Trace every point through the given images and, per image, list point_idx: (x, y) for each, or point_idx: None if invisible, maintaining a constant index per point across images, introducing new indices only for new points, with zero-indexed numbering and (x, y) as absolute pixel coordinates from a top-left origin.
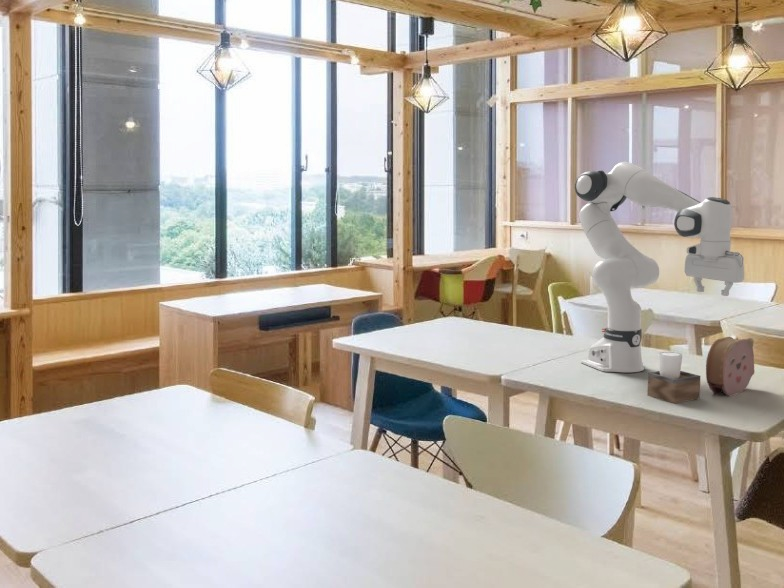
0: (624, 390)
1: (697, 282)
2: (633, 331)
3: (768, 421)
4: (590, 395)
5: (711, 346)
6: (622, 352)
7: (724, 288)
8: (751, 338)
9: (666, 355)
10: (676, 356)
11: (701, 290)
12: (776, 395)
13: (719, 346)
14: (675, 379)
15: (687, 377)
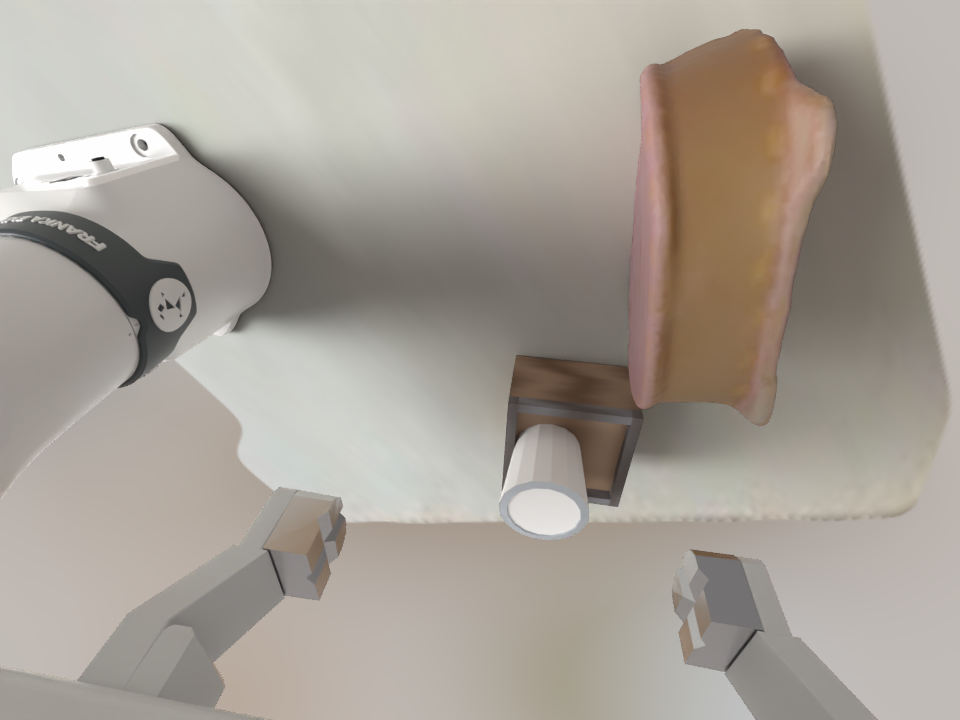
0: (438, 441)
1: (228, 639)
2: (141, 342)
3: (923, 423)
4: (432, 517)
5: (644, 407)
6: (203, 326)
7: (749, 707)
8: (832, 150)
9: (550, 536)
10: (582, 526)
11: (338, 537)
12: (875, 75)
13: (686, 397)
14: (610, 501)
15: (623, 462)
